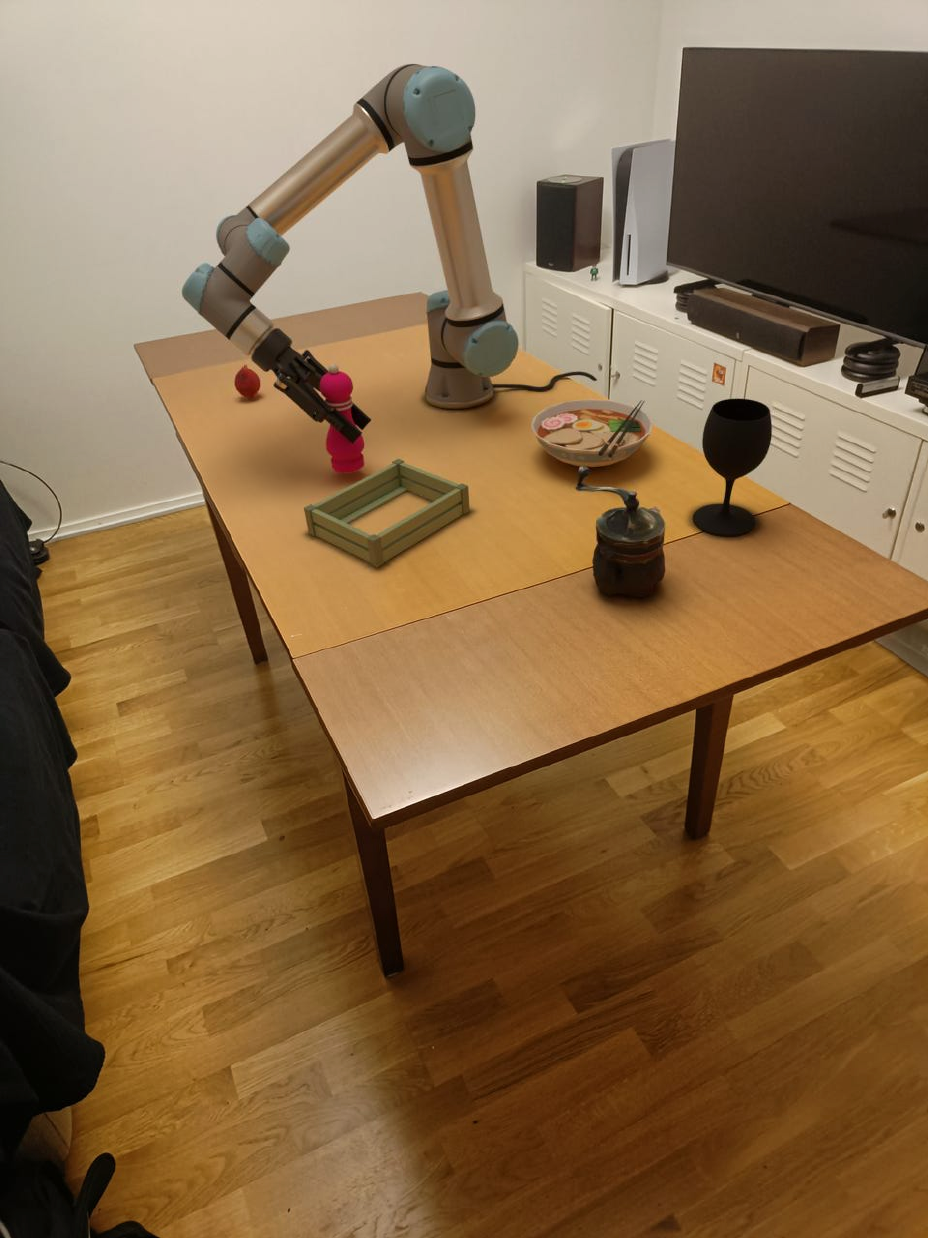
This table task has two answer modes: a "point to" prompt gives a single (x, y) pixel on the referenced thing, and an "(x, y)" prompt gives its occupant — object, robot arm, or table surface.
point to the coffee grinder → (627, 545)
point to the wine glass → (733, 459)
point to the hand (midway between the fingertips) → (362, 431)
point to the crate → (376, 490)
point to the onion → (247, 382)
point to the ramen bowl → (591, 431)
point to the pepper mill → (338, 397)
